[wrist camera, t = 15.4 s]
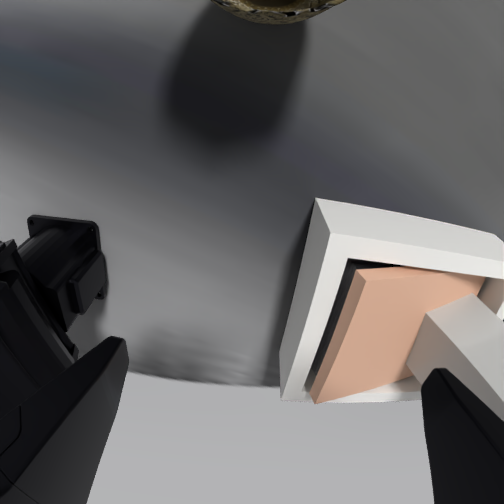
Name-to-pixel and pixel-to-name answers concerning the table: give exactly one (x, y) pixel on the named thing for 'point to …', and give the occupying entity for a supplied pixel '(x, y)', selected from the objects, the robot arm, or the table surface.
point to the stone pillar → (463, 348)
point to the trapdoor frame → (379, 250)
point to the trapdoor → (379, 324)
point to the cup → (276, 9)
